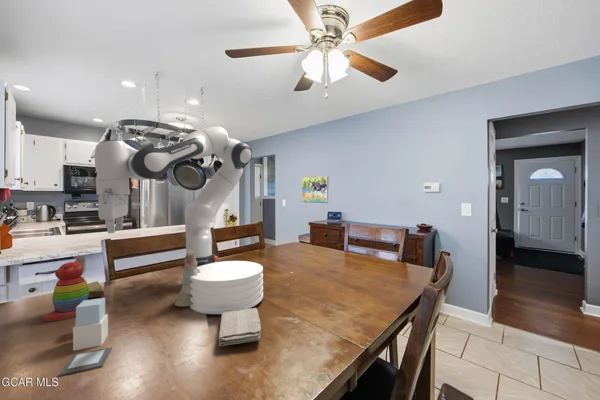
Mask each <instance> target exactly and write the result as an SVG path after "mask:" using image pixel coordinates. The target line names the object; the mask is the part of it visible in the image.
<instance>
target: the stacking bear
mask: <svg viewBox="0 0 600 400" xmlns="http://www.w3.org/2000/svg"><path fill="white" fill-rule="evenodd" d="M83 273H84V266H83V264H81V262H79V261H78V260H74V261H71V262H70V261H69V262H65V263H63V264H61V265H60V267H59V268H58V269H57V270H56V271H55V272H54V275H55V277H56V278H57V279H58V281H57V282H56V283H55V286H54V289H53V293H52V297H51V301H52V304H53V308H54V310H53V311H50V312H49V313H46V314H45V315H44V316H43V320H44V322H55V321H62V320H68V319H72V318H76V307H77V306H78V305H79V304H80V303H81V302H82V301H84V300H89V299H88V298H89V297H88V296H89V288H88V285H87V284H88V282H87V280H86V279H85V277H83V276H82V275H83Z"/></svg>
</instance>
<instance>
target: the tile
mask: <svg viewBox="0 0 600 400" xmlns="http://www.w3.org/2000/svg"><path fill="white" fill-rule="evenodd" d="M112 348H113V347H112V346H110V347H106V348H105V347H104V348H99V349H95V350H90V351H85V352H80V353H75V354H72V356H71V357H70V358H69V359H68V361H67V362H66V364H65V365H64V366H63V367H62V369H61V370H60V372H59V373H58V375H57V377H62V376H66V375H67V376H68V375H71V374H76V373H81V372H86V371H89V370H95V369H99V368H103V366H104V364H105V362H106V361H107V358H108V357H109V355H110V353H111V351H112Z"/></svg>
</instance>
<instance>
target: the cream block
mask: <svg viewBox="0 0 600 400" xmlns="http://www.w3.org/2000/svg"><path fill="white" fill-rule="evenodd" d="M108 336H109V314H108V313H105V316H104V317H103V319H102V320H101V321H100V323H95V324H89V325H83V326H76V325H74V326H73V327H72V351H79V350H80V351H81V350H85V349H89V348H96V347H100V346H102V345H103V344H104V342H105V340H106V339H107V337H108Z"/></svg>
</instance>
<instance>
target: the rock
mask: <svg viewBox="0 0 600 400" xmlns="http://www.w3.org/2000/svg"><path fill="white" fill-rule="evenodd" d="M87 285H88V288H89V296H88V298H89V299H90V298H96V297H104V296H105V292H104V289H103V286H102V285H101V284H100V282H99V281H93V282H90V283H89V282H88V283H87Z"/></svg>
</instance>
